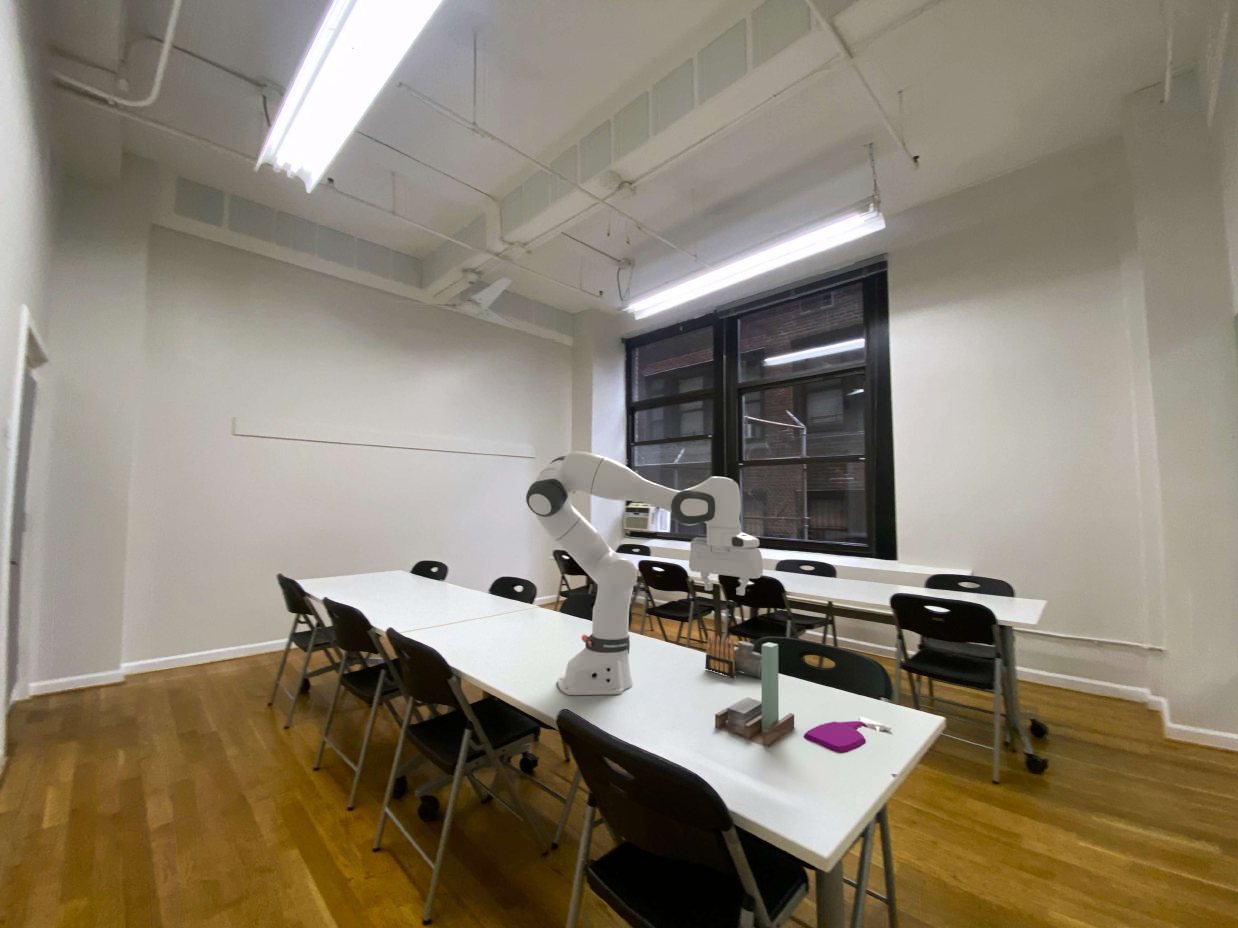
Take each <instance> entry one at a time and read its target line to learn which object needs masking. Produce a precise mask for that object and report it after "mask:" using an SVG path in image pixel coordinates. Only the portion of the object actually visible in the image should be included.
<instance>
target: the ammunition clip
mask: <svg viewBox="0 0 1238 928" xmlns="http://www.w3.org/2000/svg"><path fill="white" fill-rule="evenodd" d="M706 642H707V644H706V653H705V666H704V667H705V668H704V669H708V670H712V671H715V672H718V673H722V674H724V675H727V676H730V677H735V676H736V677H737V672H736V661H735V651H734V646H735V642H734V639H733V638H731V639H729V637H727V636H726V640H725V638H724V636H721V638H720V635H717V636H715V634H714V633H713V634H712V637H711V633H710V632H709V633H708V635H707V641H706ZM727 676H726V677H727ZM730 677H729V678H730ZM736 677H735V678H736Z"/></svg>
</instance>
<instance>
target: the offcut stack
mask: <svg viewBox="0 0 1238 928" xmlns="http://www.w3.org/2000/svg"><path fill="white" fill-rule="evenodd" d="M737 702H738V703H737ZM737 702H736V704H735V703H733V704H734V705H733V704H731V705H729V706H728V707H726V708H727V715H728V720H727V721H725V728H727V729H729V730H732V731H735V732H738V733H740V734H743V735H745V724H747V723H748V722H750V721H751V720H753V719H755V718H756V717H758V716H760V715H761V714H762V700H761V701H760V700H757V699H753V698H750V697H745V698H743V699H740V700H739V701H737Z"/></svg>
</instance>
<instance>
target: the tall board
mask: <svg viewBox="0 0 1238 928" xmlns="http://www.w3.org/2000/svg"><path fill="white" fill-rule="evenodd" d="M761 655H762V678H761V702H762V734H763V731H764V730H766V729H767V728H769V727H770V726H772V725H773V724H775V723H776V722H778V721H779V720H780V719H779V715H780V714H779V709H780V708H779V644H778V643H773V642H770V641H769V642H766V643H763V644H761Z"/></svg>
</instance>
